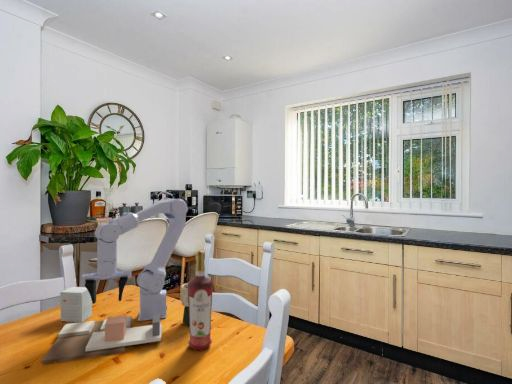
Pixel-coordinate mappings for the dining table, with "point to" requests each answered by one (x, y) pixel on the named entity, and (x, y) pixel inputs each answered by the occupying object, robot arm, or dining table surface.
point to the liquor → (200, 306)
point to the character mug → (185, 302)
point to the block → (115, 328)
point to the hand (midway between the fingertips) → (107, 301)
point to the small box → (75, 304)
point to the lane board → (79, 342)
